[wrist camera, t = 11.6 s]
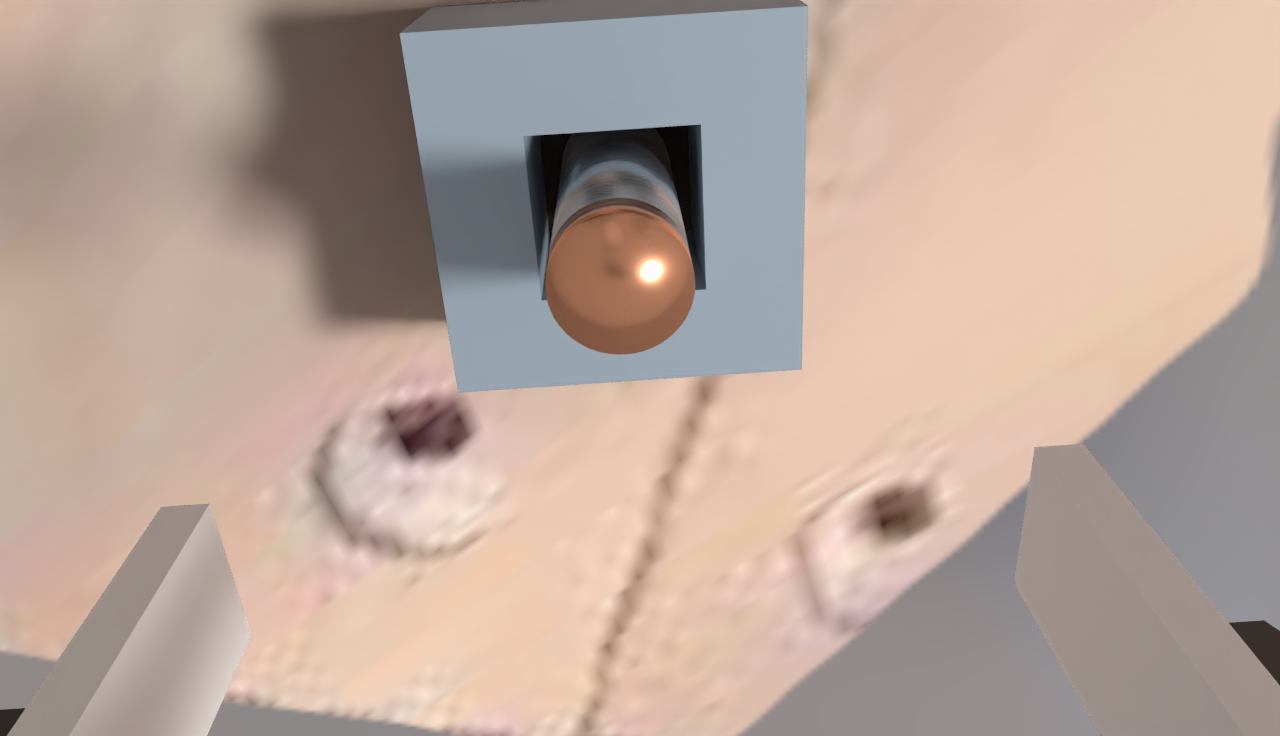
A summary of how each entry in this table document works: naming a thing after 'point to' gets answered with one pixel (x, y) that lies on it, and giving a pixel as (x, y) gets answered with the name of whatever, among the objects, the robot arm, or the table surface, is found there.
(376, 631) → the table surface
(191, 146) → the table surface
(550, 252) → the lock pin
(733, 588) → the table surface
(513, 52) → the socket
